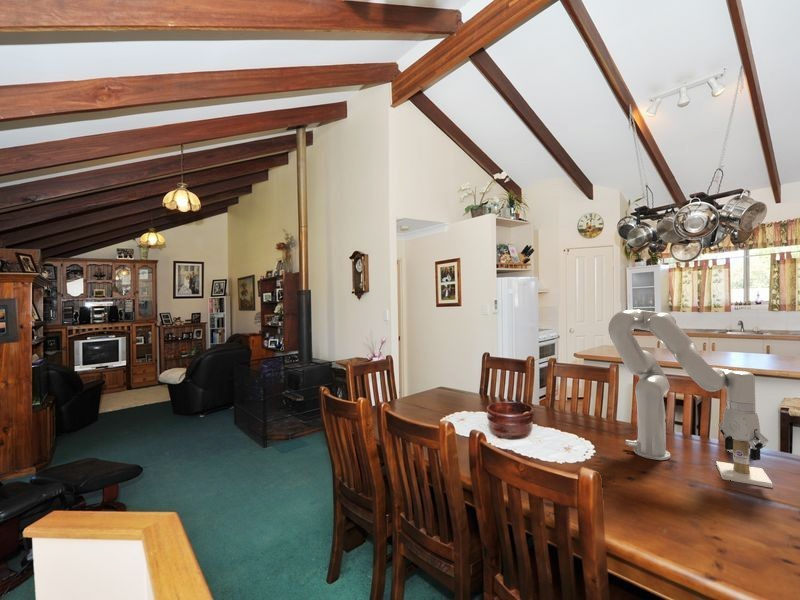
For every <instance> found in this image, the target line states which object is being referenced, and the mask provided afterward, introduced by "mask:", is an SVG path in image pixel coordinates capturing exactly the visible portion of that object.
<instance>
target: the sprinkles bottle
mask: <svg viewBox="0 0 800 600" xmlns="http://www.w3.org/2000/svg"><path fill="white" fill-rule="evenodd" d="M732 438H733V453H732V459H733V464H734V468H733V469H734V470H735V471H737V472H740V473H746V474H747V473H750V470H749V466H750V455H749V442H747V441H743V440H740V439H737V438H735V437H732Z"/></svg>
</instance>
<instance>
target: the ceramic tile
mask: <svg viewBox="0 0 800 600" xmlns="http://www.w3.org/2000/svg"><path fill="white" fill-rule="evenodd" d="M715 465H717V466H716V468H717V470H718V472H719V475H720V477H721V479H722V480H725V481H730V480H731V482H736V483H737V482H738V483H742V484H747V485H754V486H761V487H766V488H771V489H773V487H774V485H773V482H772V480H771V479H770V477H769V476H768V475H767V473H766V471H764V469H763V468H761V467H756V466H750V465H749V470H750V473H747V474H746V473H740V472H737V471H735V470H734V469H733V468H734V463H730V462H724V461H717V460H716V461H715Z"/></svg>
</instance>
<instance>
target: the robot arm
mask: <svg viewBox="0 0 800 600" xmlns="http://www.w3.org/2000/svg"><path fill="white" fill-rule="evenodd" d="M607 327H608V328H607V329H608V335H609V337H610V339H611V342H612V343H613V345H614V348H616V349H615V350H617V351H616V352H617V353H618V355H619V357H620V359H621V361H622V363H623V364H624V367H625V368H626V370H627V371H628V372H629V373H630V374H632V375H634V376H638V378H639V380H638V381H637V383H636V384H635V390H634V392H635V399H636V410H637V411H636V413H637V414H636V415H637V439H635V440H629V439H625V445H627V446H628V447H632V448H633V452H634V453H635V454H636V455H638V456H639V457H642V458H645V459H647V460H648V459H649V460H657V461H667V460H669V459H671V456H672V455H671V452H669V451H668V450H666V449H667V448H666V445H667V444H666V443H667V442H666V440H667V439H666V413H665V412H666V411H665V402H664V396H665V395H666V394H668V392H669V390H670V383H669V382H670V381H669V380H668V378H667V375H666V374H665V373H664V371H663V368H662V367H661V365H660V363H659V361H658V360H657V358H656V357H655V356H654V355H653V354H652V353H651V352H649V351H648V350H645V349H644V350H643V349H642V347H641V346H640V343H639V342H638V340H637V338H636V337H635V336H634V335H633V333H632V330H642V331H649V332H651V333H652V334H653V336H654V337H655V338H657V340H659V342H660V343H662V345H663V347H665V348H666V349H667V350H668V351H669V352H670V353H671V354H672V356H673V357H674V359H675V360H676V361H677V363H678V364H679V365H680V367H681V368H682V369H683V371H684V372H685V373H686V374H687V375H688V376H689V377H690V378H691V380H693V381H694V382H695V384H697V385H698V386H699V387H700V388H701V389H703V390H705V391H708V392H710V393H711V392H718V391H720V390H722V389H723V388H726V394H727V395H726V399H725V402H726V404H727V406H726V407H724V412H723V416H722V422H720V423H718V425H717V426H718V428H719V430H720V433H721V434H722V438H724V447H725V448H724V449H725V451H727V450H733V438H732V437H735V438H737V439H740V440H743V441H747V442H749V444H750V445H751V448H750V455H749V460H751V461H761V450H762V449H763V448H765V447H766V445H767V443H768V442H769V439H768V438H767V437H766V436H764V435H763V434H762V433H761V426H760V421H759V420H760V419H759V416H758V413H757V412H756V378H755V375H754V374H753V373H752V372H750V371H745V370H729V369H726V368H725V369H724V368H720V367H711V365H710V364H709V363H708V362H707V361H706V360H705V359H704V357H702V356H701V354H700V353H699V351H698V348H697V345H696V344H695V342H694V340H693V339H692V338H691V337H690V336H688V334H687V333H685V331H684V330H682V328H680V327H679V326H678V325H677V319H676V318H675V317H674V316H673V315H672V314H670V313H667V312H661V311H660V312H659V311H658V312H657V311H650V310H642V309H625V310H624V309H623V310H621V311H619V312H617V313H615V314H614V315H613V316H612V318H611V319H610V321H609V322H608V326H607Z"/></svg>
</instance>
